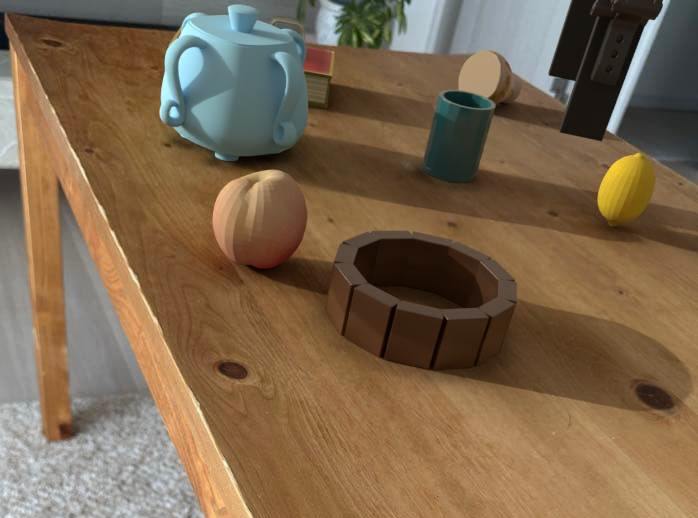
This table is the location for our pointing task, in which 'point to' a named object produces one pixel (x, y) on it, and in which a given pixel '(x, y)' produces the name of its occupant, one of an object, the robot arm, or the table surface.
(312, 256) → the table surface
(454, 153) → the tumbler
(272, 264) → the fruit
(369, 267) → the ring
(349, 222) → the table surface
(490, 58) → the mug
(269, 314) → the table surface
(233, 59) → the decorative pot
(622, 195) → the lemon
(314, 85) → the hardcover book
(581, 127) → the robot arm
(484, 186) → the table surface
